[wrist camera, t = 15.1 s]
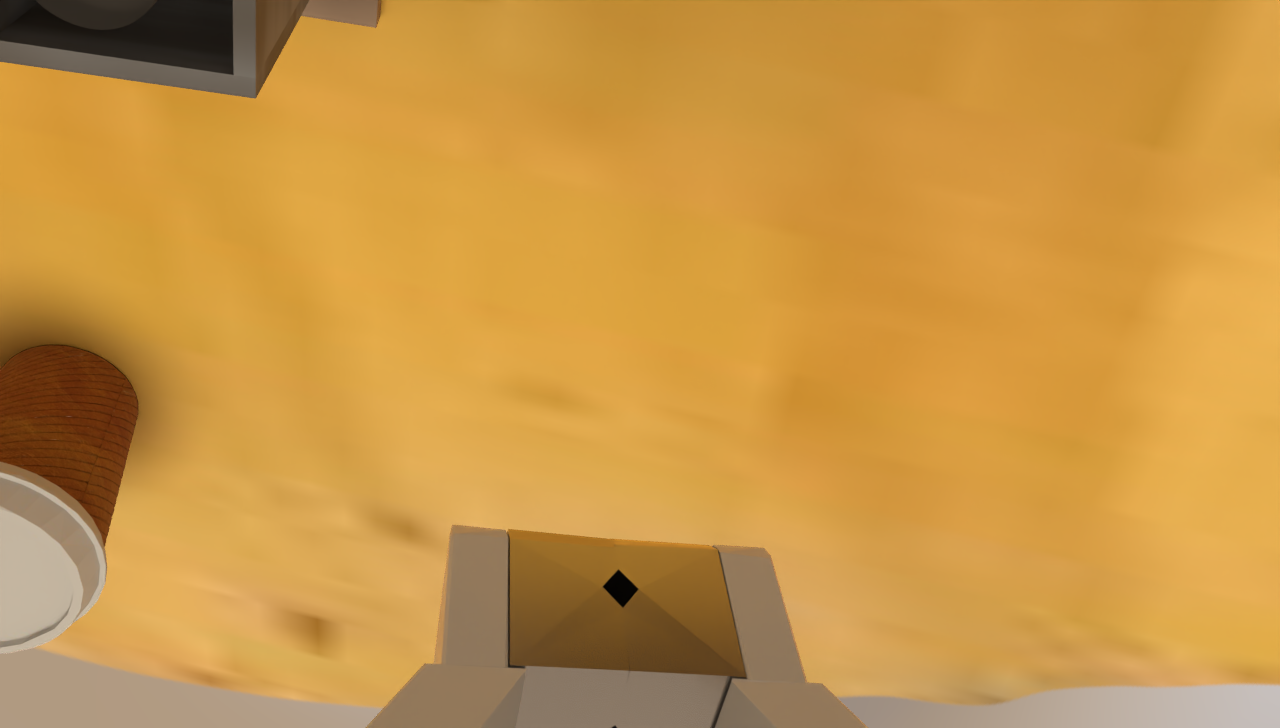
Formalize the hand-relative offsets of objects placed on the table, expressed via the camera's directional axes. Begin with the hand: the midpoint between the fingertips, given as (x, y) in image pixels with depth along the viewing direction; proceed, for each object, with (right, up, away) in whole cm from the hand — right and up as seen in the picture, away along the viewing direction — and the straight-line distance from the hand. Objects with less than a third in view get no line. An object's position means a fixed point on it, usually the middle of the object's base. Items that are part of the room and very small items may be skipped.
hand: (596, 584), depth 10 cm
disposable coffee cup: (-27, 0, +42) cm, 50 cm away
